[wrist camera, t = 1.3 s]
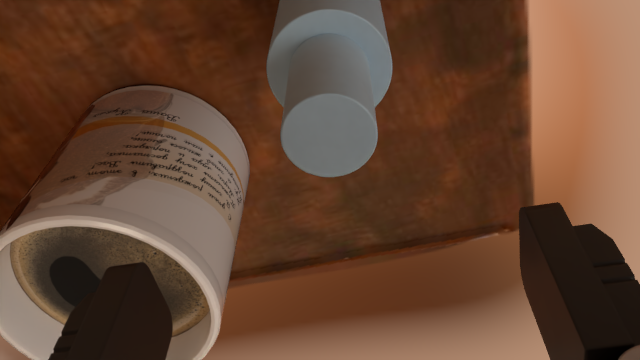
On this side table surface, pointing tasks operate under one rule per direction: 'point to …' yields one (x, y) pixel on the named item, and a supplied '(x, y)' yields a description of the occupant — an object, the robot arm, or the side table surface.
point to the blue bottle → (329, 81)
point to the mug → (128, 218)
